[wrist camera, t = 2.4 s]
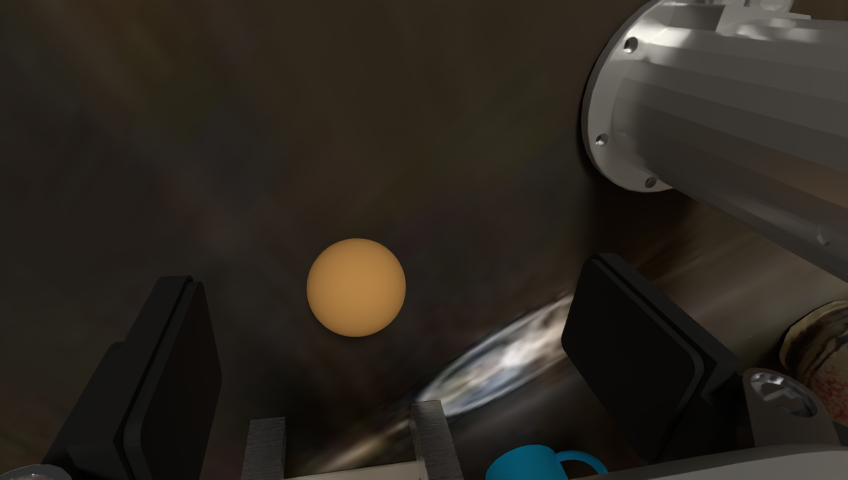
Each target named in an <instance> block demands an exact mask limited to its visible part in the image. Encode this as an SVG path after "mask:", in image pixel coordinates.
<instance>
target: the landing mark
mask: <svg viewBox="0 0 848 480" xmlns="http://www.w3.org/2000/svg"><path fill="white" fill-rule="evenodd" d="M419 479H420V474H419V469H418V464H417V461H410V462H403V463H396V464H389V465H382V466H374V467H367V468H360V469H353V470H345V471H338V472H331V473H324V474H316V475H309V476H302V477H295V478H287V479H283V480H419Z"/></svg>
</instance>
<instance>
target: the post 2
mask: <svg viewBox="0 0 848 480" xmlns="http://www.w3.org/2000/svg"><path fill="white" fill-rule="evenodd" d="M409 426H410V431H411V436H412V440H413V445H414V450H415V455H416V460H417V464H418V469H419V474H420V479H421V480H464V478H463V475H462V472H461V468H460V465H459V462H458V458H457V455H456V452H455V448H454V445H453V441H452V438H451V435H450V431H449V428H448V425H447V421H446V418H445V415H444V411H443V408H442V405H441V401H440V400H435V401H425V402H416V403H411V409H410V418H409Z"/></svg>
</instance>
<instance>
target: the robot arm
mask: <svg viewBox="0 0 848 480" xmlns="http://www.w3.org/2000/svg"><path fill="white" fill-rule="evenodd" d="M793 2H794V0H651V1H650V2H648V3H647V4H645V5H644V6H642V7H641V8H640V9H639V10H638V11H636V12H635V13H634V14H633V15H632V16H631V17H630V18H629V19H627V20H626V21H625V22H624V24H623V25H622V26H621V27H620V28H619V29H618V31H617V32H616V33H615V34H614V35H613V37H612V38H611V39H610V40H609V42H608V44H607V45H606V47H605V48H604V50H603V52H602V53H601V55H600V56H599V58H598V60H597V62H596V64H595V67H594V69H593V71H592V73H591V76H590V78H589V80H588V84H587V88H586V91H585V95H584V99H583V105H582V114H581V128H582V139H583V142H584V146H585V149H586V153H587V155H588V157H589V158H590V160H591V162H592V164H593V165H594V167H595V168H596V169H597V170H598V171H599V172H600V173H601V174H602V175H603V176H604V177H606V178H607V179H609V180H610V181H612V182H613V183H614V184H616V185H618V186H620V187H623V188H625V189H627V190H631V191H637V192H659V191H663V190H668V189H672V188H675V189H676V190H678V191H680V192H682V193H684V194H686V195H687V196H689V197H691V198H693V199H695V200H697V201H698V202H700V203H702V204H704V205H706V206H708V207H709V208H711V209H713V210H715V211H717V212H719V213H720V214H722V215H724V216H726V217H728V218H730V219H731V220H733V221H735V222H737V223H739V224H741V225H742V226H744V227H746V228H748V229H750V230H752V231H753V232H755V233H757V234H759V235H761V236H763V237H764V238H766V239H768V240H770V241H772V242H774V243H775V244H777V245H779V246H781V247H783V248H785V249H786V250H788V251H790V252H792V253H794V254H796V255H797V256H799V257H801V258H803V259H805V260H807V261H808V262H810V263H812V264H814V265H816V266H818V267H819V268H821V269H823V270H825V271H827V272H829V273H830V274H832V275H834V276H836V277H838V278H840V279H841V280H843V281H845V282H847V283H848V21H830V20H810V19H811V17H810V16H809V15H802V14H795V13H789V11H790V9H791V6H792V4H793ZM561 343H562V347H563V349H564V351H565V352H566V354H567V355H568V357H569V358H570V359H571V361H572V362H573V364H574V365H575V367H576V368H577V369H578V371H579V372H580V374H581V375H582V377H583V378H584V379H585V381H586V382H587V384H588V385H589V387H590V388H591V389H592V391H593V392H594V394H595V395H596V396H597V398H598V399H599V401H600V402H601V404H602V405H603V406H604V408H605V409H606V411H607V412H608V414H609V415H610V416H611V418H612V419H613V421H614V422H615V424H616V425H617V426H618V428H619V429H620V431H621V432H622V434H623V435H624V436H625V438H626V439H627V441H628V442H629V444H630V445H631V446H632V448H633V449H634V451H635V452H636V453H637V455H638V456H639V457H640V458H641V459H643V460H646V461H647V463H648V464H649V465H648V466H643V467H637V468H632V469H626V470H621V471H615V472H609V473H604V474H598V475H593V476H588V477H582V478H577V479H571V480H848V426H845V425H843V424H840V423H838V422H835V421H833V420H831V419H830V416H829V414H828V411H827V409H826V407H825V406H824V404H823V402H822V401H821V400H820V399H819V398H818V397H817V396H816V395H815V394H814V393H813V392H812V391H811V390H809V389H808V388H807V387H805V386H804V385H803V384H801V383H799V382H798V381H796V380H794V379H792V378H791V377H789V376H786V375H784V374H781V373H779V372H776V371H773V370H769V369H765V368H752V369H747V370H746V371H745V372H744V373H743V374H742V376H741V377H740V376H739V375H738V374H737V373H736V372H735V369H736V368H737V366H738V364H739V363H740V361H741V360H740V359H739V358H738V357H737V356H736V355H734V354H733V353H732V352H731V351H730V350H729V349H727V348H726V347H725V346H724V345H723V344H722V343H720V342H719V341H718V340H717V339H716V338H715V337H713V336H712V335H711V334H710V333H709V332H708V331H706V330H705V329H704V328H703V327H702V326H701V325H699V324H698V323H697V322H696V321H695V320H694V319H692V318H691V317H690V316H689V315H688V314H687V313H685V312H684V311H683V310H682V309H681V308H680V307H678V306H677V305H676V304H675V303H674V302H673V301H671V300H670V299H669V298H668V297H667V296H666V295H664V294H663V293H662V292H661V291H660V290H659V289H657V288H656V287H655V286H654V285H653V284H651V283H650V282H649V281H648V280H647V279H646V278H644V277H643V276H642V275H641V274H640V273H639V272H637V271H636V270H635V269H634V268H633V267H632V266H630V265H629V264H628V263H627V262H626V261H625V260H623V259H622V258H621V257H620V256H619V255H617V254H616V253H603V254H593V255H592V256H591V257H590V258H589V260H586V261H585V262H584V265H583V268H582V271H581V274H580V278H579V281H578V284H577V287H576V291H575V294H574V297H573V300H572V304H571V307H570V310H569V314H568V317H567V320H566V323H565V327H564V330H563V333H562V337H561ZM221 382H222V373H221V367H220V362H219V358H218V353H217V348H216V343H215V339H214V334H213V329H212V324H211V319H210V315H209V310H208V305H207V300H206V296H205V291H204V287H203V284H202V282H201V281H199V282H194V281H193V278H192V277H191V276H190V275H187V276H168V277H160V278H159V279H158V281H157V282H156V284H155V286H154V288H153V290H152V291H151V293H150V295H149V297H148V299H147V300H146V302H145V304H144V306H143V308H142V310H141V311H140V313H139V315H138V317H137V319H136V320H135V322H134V324H133V326H132V328H131V330H130V331H129V333H128V335H127V337H126V339H125V340H124V342H116V343H114V344H113V345H111V346H110V348H109V349H108V350H107V352H106V353H105V355H104V357H103V358H102V360H101V362H100V363H99V365H98V367H97V369H96V370H95V372H94V374H93V375H92V377H91V379H90V381H89V382H88V384H87V386H86V387H85V389H84V391H83V393H82V394H81V396H80V398H79V399H78V401H77V403H76V405H75V406H74V408H73V410H72V411H71V413H70V415H69V417H68V418H67V420H66V422H65V423H64V425H63V427H62V429H61V430H60V432H59V434H58V435H57V437H56V439H55V441H54V442H53V444H52V446H51V447H50V449H49V451H48V453H47V454H46V456H45V458H44V459H43V461H42V463H41V465H30V466H27V467H23V468H20V469H16V470H13V471H10V472H8V473H5V474H3V475H1V476H0V480H199V477H200V473H201V468H202V464H203V460H204V456H205V452H206V448H207V443H208V439H209V435H210V431H211V427H212V422H213V418H214V414H215V410H216V406H217V402H218V397H219V393H220V389H221Z"/></svg>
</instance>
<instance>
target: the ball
mask: <svg viewBox="0 0 848 480" xmlns="http://www.w3.org/2000/svg"><path fill="white" fill-rule="evenodd" d="M405 290H406V283H405V276H404V273H403V270H402V267H401V265H400V263H399V261H398V260H397V259H396V257H395V256H394V255H393V254H392V253H391V252H390V251H389V250H388V249H387V248H385V247H384V246H382V245H381V244H379V243H377V242H374V241H371V240H367V239H359V238H354V239H347V240H343V241H340V242H337V243H335V244H333V245H332V246H330V247H328V248H327V249H326V250H324V251H323V252H322V253H321V254H320V255H319V256H318V258H317V259H316V260H315V262H314V263H313V265H312V267H311V270H310V272H309V275H308V280H307V297H308V301H309V305H310V307H311V309H312V312H313V313H314V315H315V316H316V318H317V319H318V320H319V321H320V322H321V323H322V324H323V325H324V326H325V327H326V328H328V329H330V330H331V331H333V332H335V333H338V334H340V335H344V336H351V337H360V336H366V335H370V334H373V333H375V332H378V331H380V330H381V329H383V328H384V327H386V326H387V325H388V324H389V323H390V322H391V321H392V320H393V319H394V318H395V317H396V315H397V314H398V312H399V311H400V309H401V307H402V304H403V301H404V297H405Z"/></svg>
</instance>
